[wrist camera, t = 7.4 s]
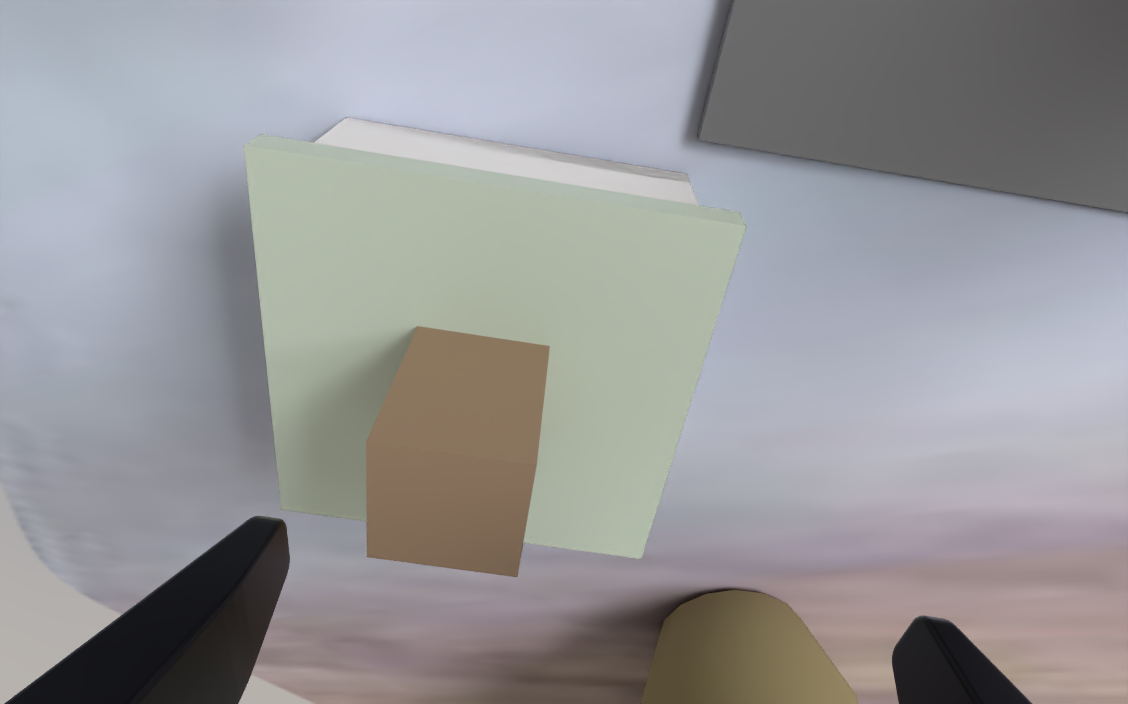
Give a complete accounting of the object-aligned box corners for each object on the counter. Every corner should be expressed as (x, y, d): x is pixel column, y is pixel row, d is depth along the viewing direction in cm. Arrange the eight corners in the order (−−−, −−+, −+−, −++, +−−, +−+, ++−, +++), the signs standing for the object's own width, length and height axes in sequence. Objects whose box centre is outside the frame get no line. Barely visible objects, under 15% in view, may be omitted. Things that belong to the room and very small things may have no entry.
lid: (739, 211, 14) (796, 326, 10) (639, 537, 20) (650, 696, 16) (260, 134, 14) (121, 222, 10) (292, 488, 19) (210, 640, 15)
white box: (687, 174, 18) (708, 232, 15) (620, 434, 23) (624, 523, 19) (346, 117, 17) (286, 163, 14) (351, 395, 22) (307, 479, 19)
